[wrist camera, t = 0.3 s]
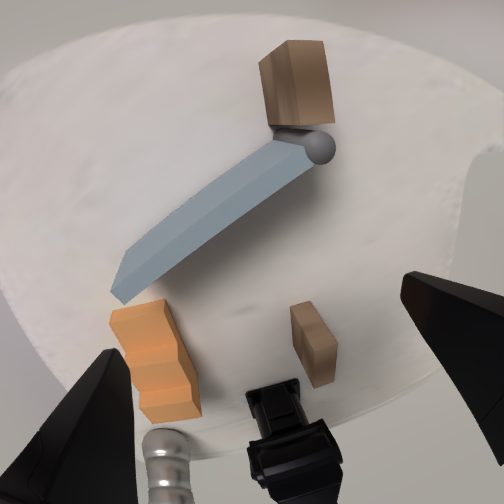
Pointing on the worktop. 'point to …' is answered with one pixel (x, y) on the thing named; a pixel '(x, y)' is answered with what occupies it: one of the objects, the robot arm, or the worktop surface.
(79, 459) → the robot arm
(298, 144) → the grey piece
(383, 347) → the worktop surface
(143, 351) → the orange stepped block
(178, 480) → the silver bottle
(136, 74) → the worktop surface
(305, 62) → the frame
